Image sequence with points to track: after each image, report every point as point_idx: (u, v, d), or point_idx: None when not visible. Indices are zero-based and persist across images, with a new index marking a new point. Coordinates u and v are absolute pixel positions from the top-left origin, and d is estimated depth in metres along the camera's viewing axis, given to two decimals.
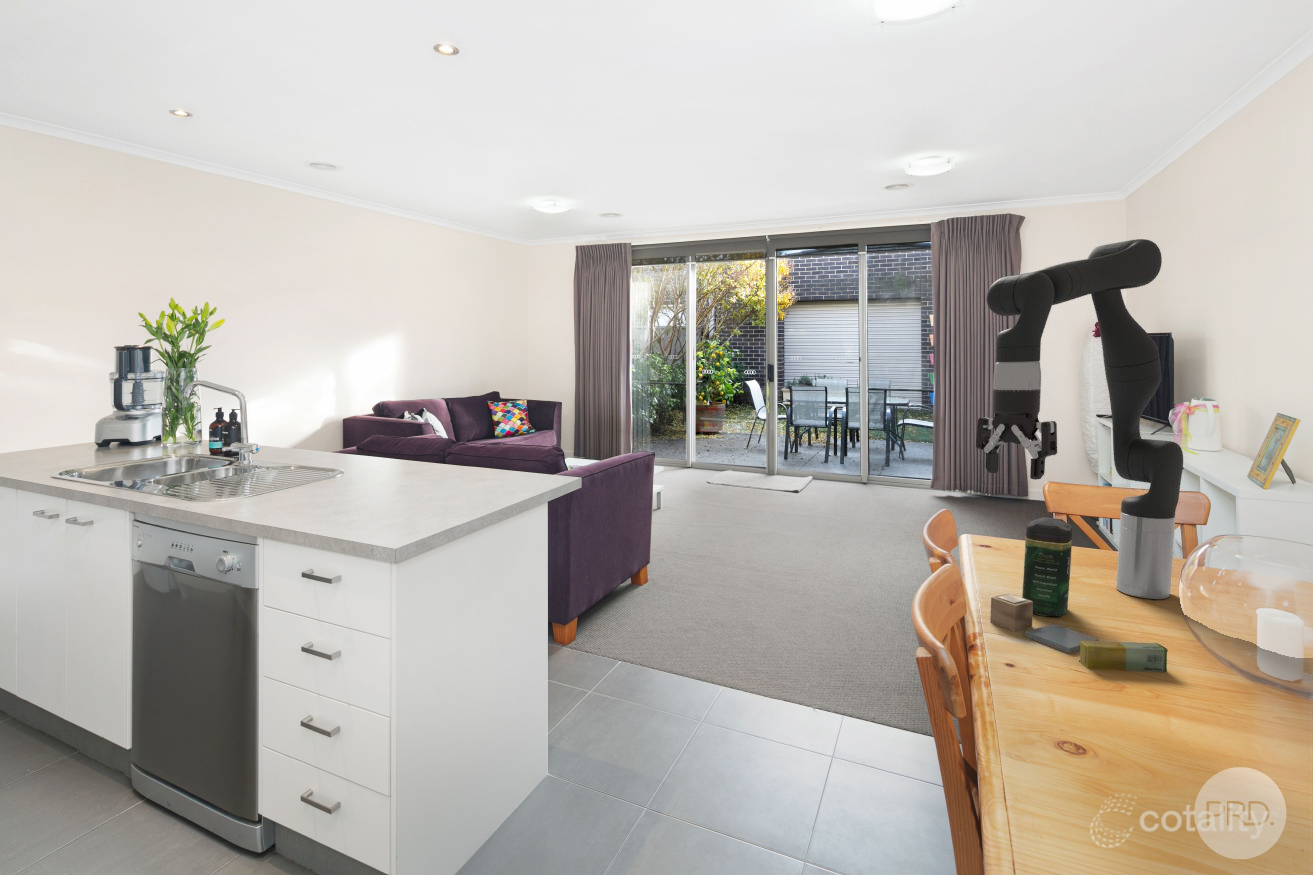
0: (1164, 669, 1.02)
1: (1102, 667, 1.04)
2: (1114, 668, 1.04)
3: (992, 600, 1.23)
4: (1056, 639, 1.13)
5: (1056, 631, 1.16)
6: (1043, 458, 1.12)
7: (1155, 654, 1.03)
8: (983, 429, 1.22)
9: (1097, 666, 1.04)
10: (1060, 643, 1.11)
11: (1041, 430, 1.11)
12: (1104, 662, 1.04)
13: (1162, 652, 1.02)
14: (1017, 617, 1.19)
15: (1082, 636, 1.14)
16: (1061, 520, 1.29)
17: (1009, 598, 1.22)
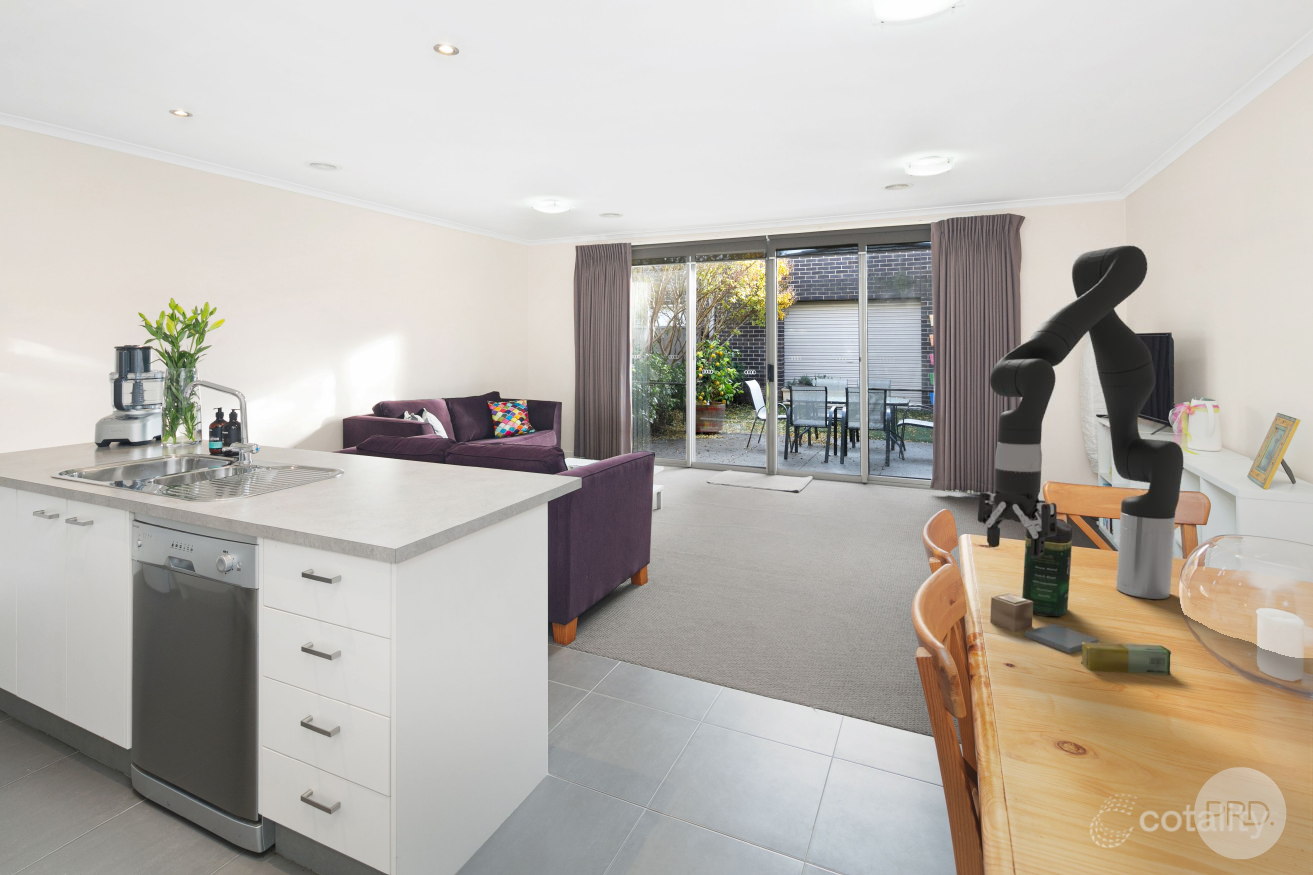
0: (1167, 671, 1.02)
1: (1104, 669, 1.03)
2: (1116, 670, 1.03)
3: (993, 600, 1.23)
4: (1056, 639, 1.13)
5: (1056, 631, 1.16)
6: (1043, 538, 1.16)
7: (1158, 656, 1.02)
8: (985, 504, 1.25)
9: (1099, 668, 1.03)
10: (1060, 643, 1.11)
11: (1041, 512, 1.14)
12: (1106, 663, 1.03)
13: (1165, 654, 1.02)
14: (1017, 617, 1.19)
15: (1082, 636, 1.14)
16: (1061, 520, 1.29)
17: (1009, 598, 1.22)
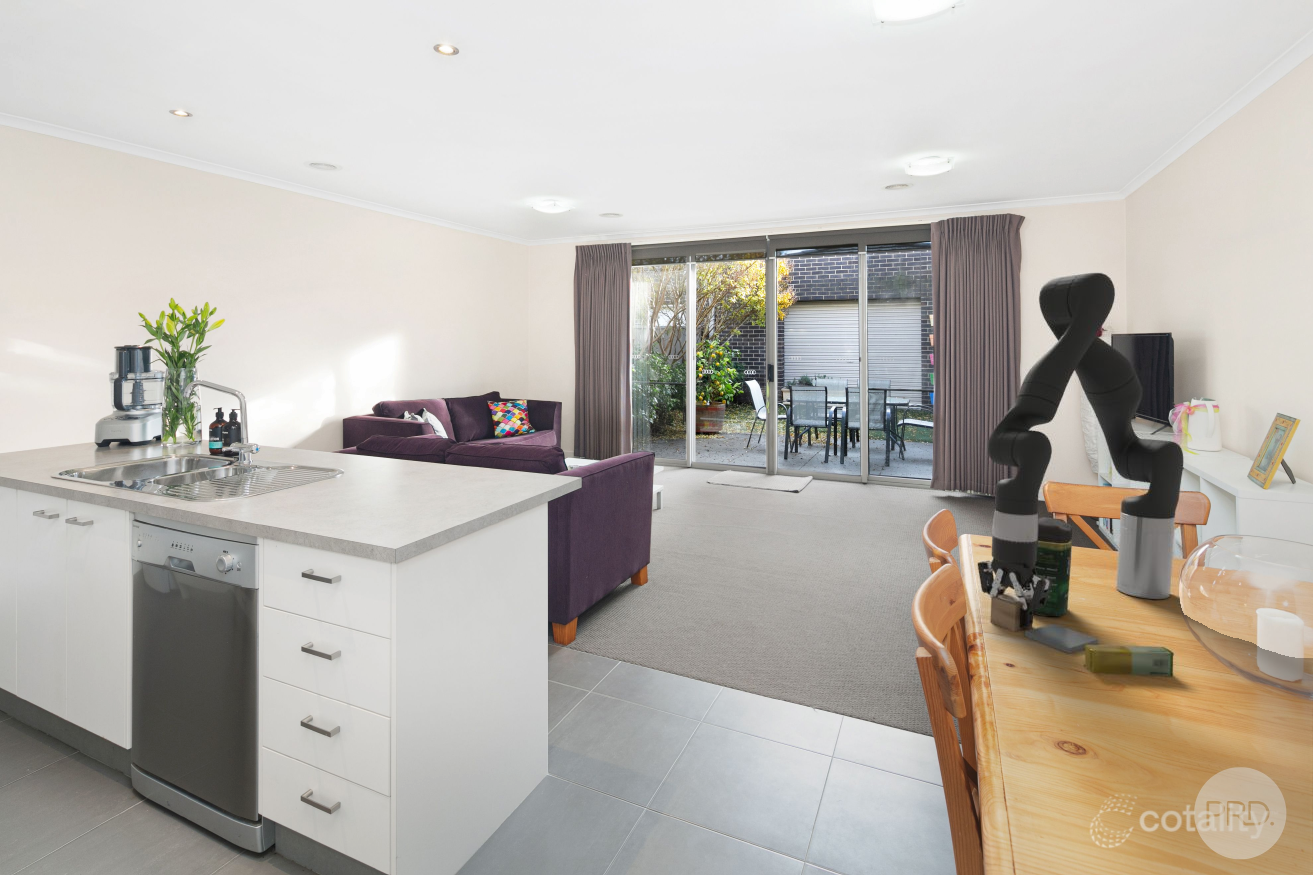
0: (1170, 673, 1.01)
1: (1108, 671, 1.02)
2: (1120, 672, 1.02)
3: (993, 599, 1.23)
4: (1056, 639, 1.13)
5: (1056, 631, 1.16)
6: (1031, 609, 1.18)
7: (1161, 658, 1.01)
8: (985, 573, 1.26)
9: (1103, 671, 1.02)
10: (1060, 643, 1.11)
11: (1036, 586, 1.16)
12: (1109, 666, 1.02)
13: (1168, 656, 1.01)
14: (1017, 617, 1.19)
15: (1082, 636, 1.14)
16: (1061, 520, 1.29)
17: (1010, 597, 1.22)
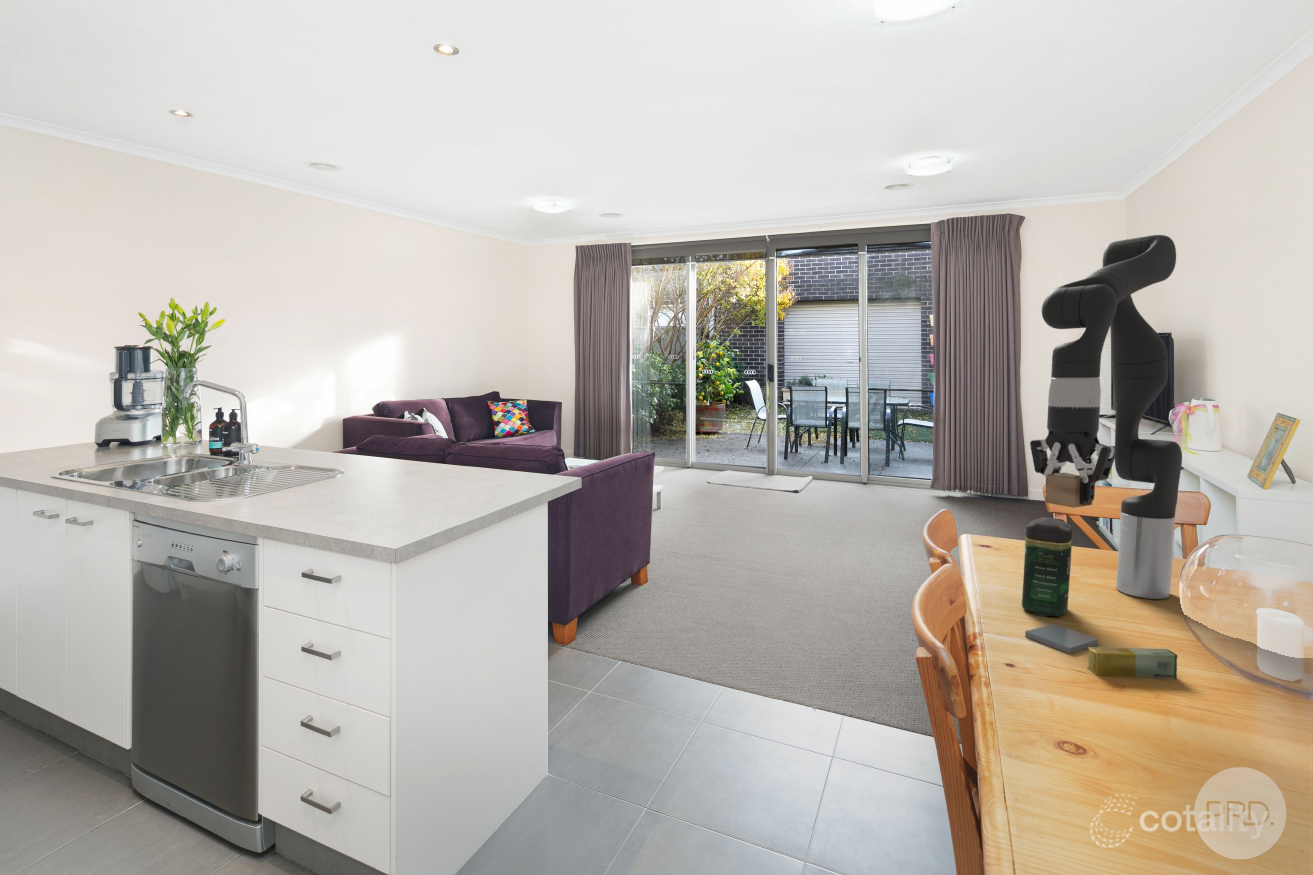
0: (1174, 675, 1.00)
1: (1111, 674, 1.01)
2: (1124, 675, 1.01)
3: (1048, 477, 1.13)
4: (1056, 639, 1.13)
5: (1056, 631, 1.16)
6: (1093, 483, 1.08)
7: (1165, 660, 1.00)
8: (1038, 451, 1.16)
9: (1107, 674, 1.01)
10: (1060, 643, 1.11)
11: (1099, 454, 1.06)
12: (1113, 669, 1.01)
13: (1172, 658, 1.00)
14: (1077, 492, 1.09)
15: (1082, 636, 1.14)
16: (1061, 520, 1.29)
17: (1067, 474, 1.12)
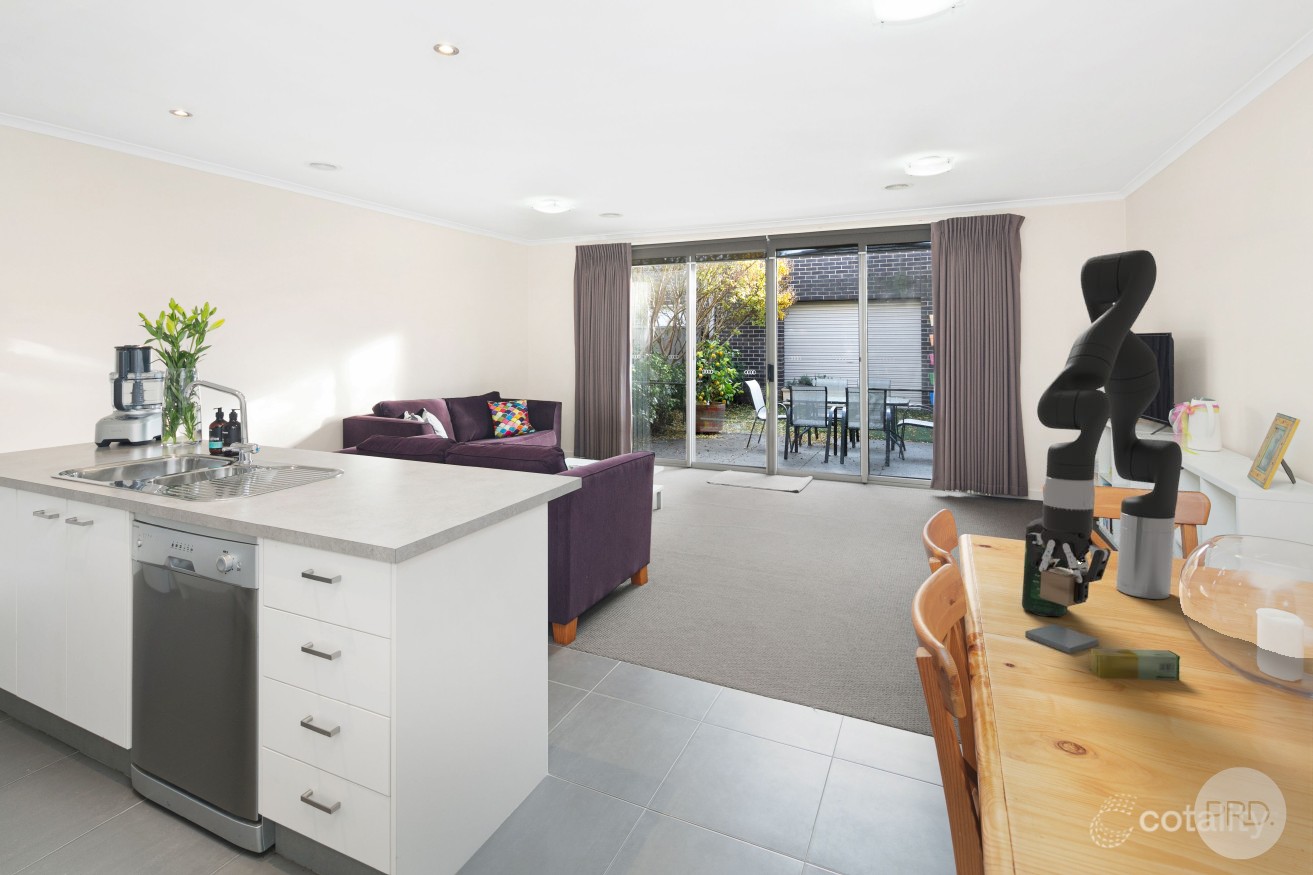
0: (1177, 677, 1.00)
1: (1114, 676, 1.01)
2: (1126, 677, 1.01)
3: (1043, 573, 1.14)
4: (1056, 639, 1.13)
5: (1056, 631, 1.16)
6: (1087, 582, 1.10)
7: (1167, 662, 1.00)
8: (1033, 545, 1.17)
9: (1109, 675, 1.01)
10: (1060, 643, 1.11)
11: (1093, 556, 1.08)
12: (1116, 670, 1.01)
13: (1175, 659, 1.00)
14: (1071, 591, 1.11)
15: (1082, 636, 1.14)
16: None
17: (1061, 571, 1.14)
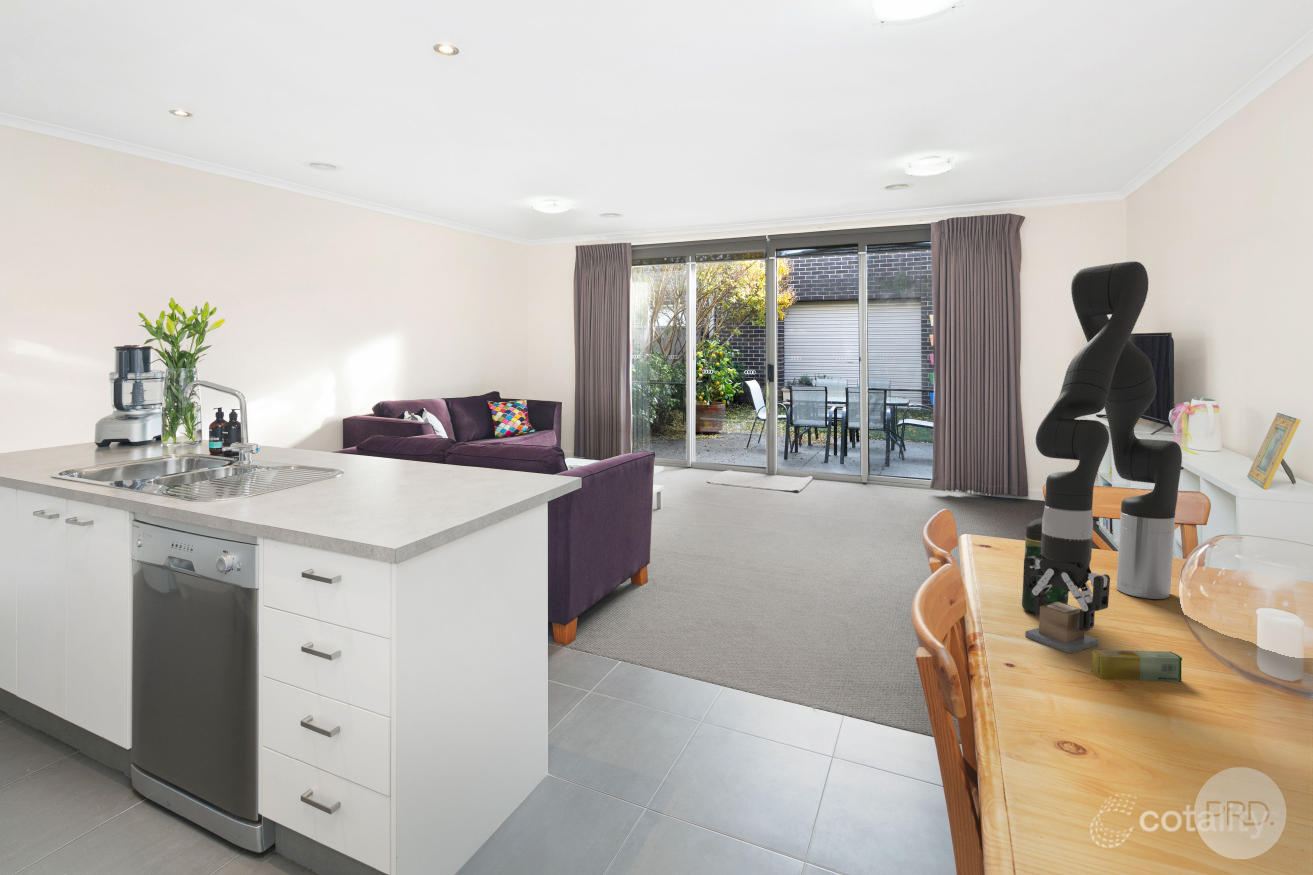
0: (1179, 678, 0.99)
1: (1116, 677, 1.00)
2: (1128, 678, 1.00)
3: (1041, 609, 1.15)
4: (1056, 639, 1.13)
5: None
6: (1093, 611, 1.09)
7: (1169, 663, 0.99)
8: (1030, 569, 1.18)
9: (1111, 677, 1.00)
10: (1060, 643, 1.11)
11: (1093, 584, 1.08)
12: (1117, 672, 1.00)
13: (1177, 661, 0.99)
14: (1069, 628, 1.11)
15: None
16: None
17: (1060, 606, 1.14)
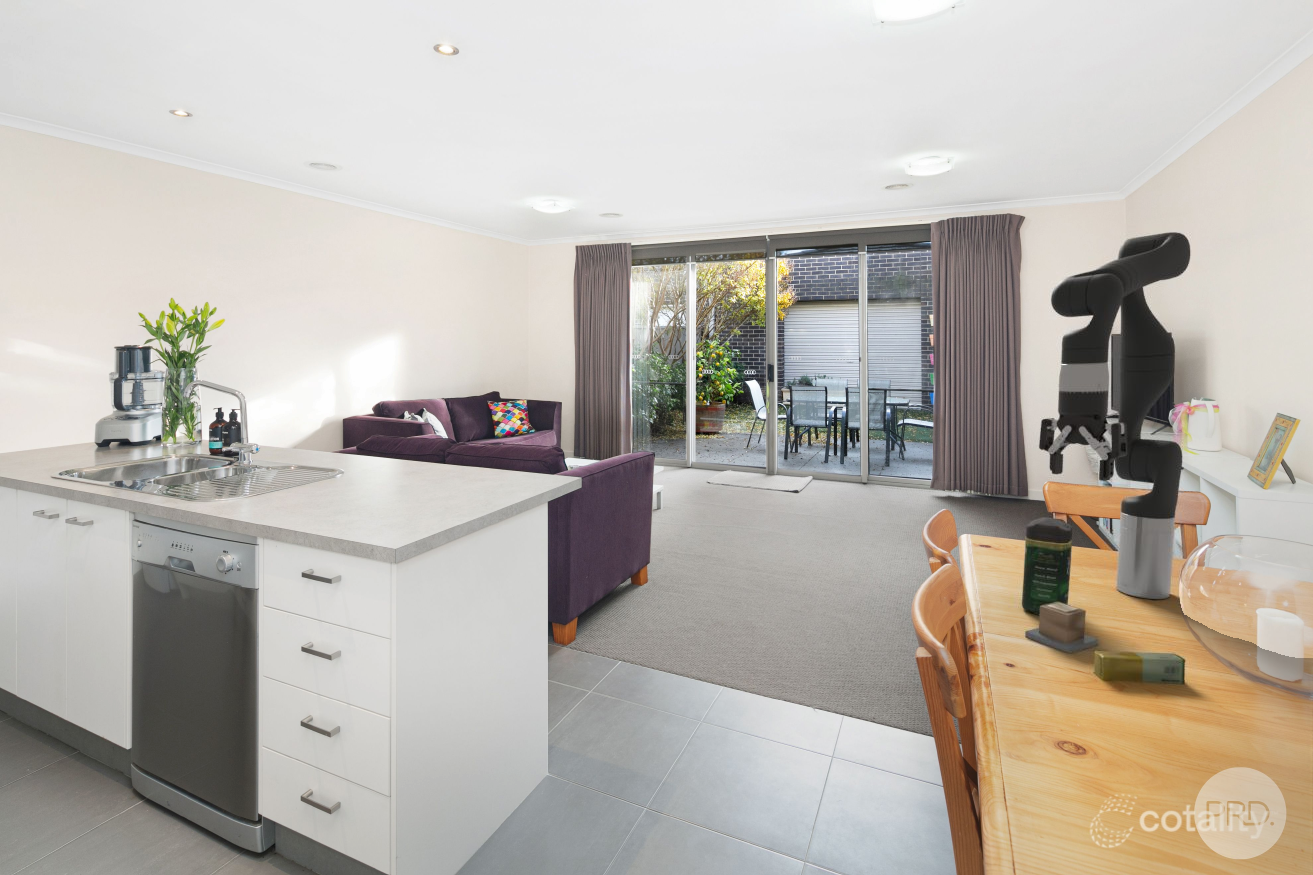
0: (1182, 680, 0.99)
1: (1118, 679, 1.00)
2: (1130, 680, 1.00)
3: (1041, 609, 1.15)
4: (1056, 639, 1.13)
5: None
6: (1112, 459, 1.12)
7: (1173, 665, 0.99)
8: (1047, 430, 1.22)
9: (1113, 678, 1.00)
10: (1060, 643, 1.11)
11: (1111, 432, 1.11)
12: (1119, 673, 1.00)
13: (1180, 663, 0.99)
14: (1069, 628, 1.11)
15: None
16: (1061, 520, 1.29)
17: (1060, 606, 1.14)
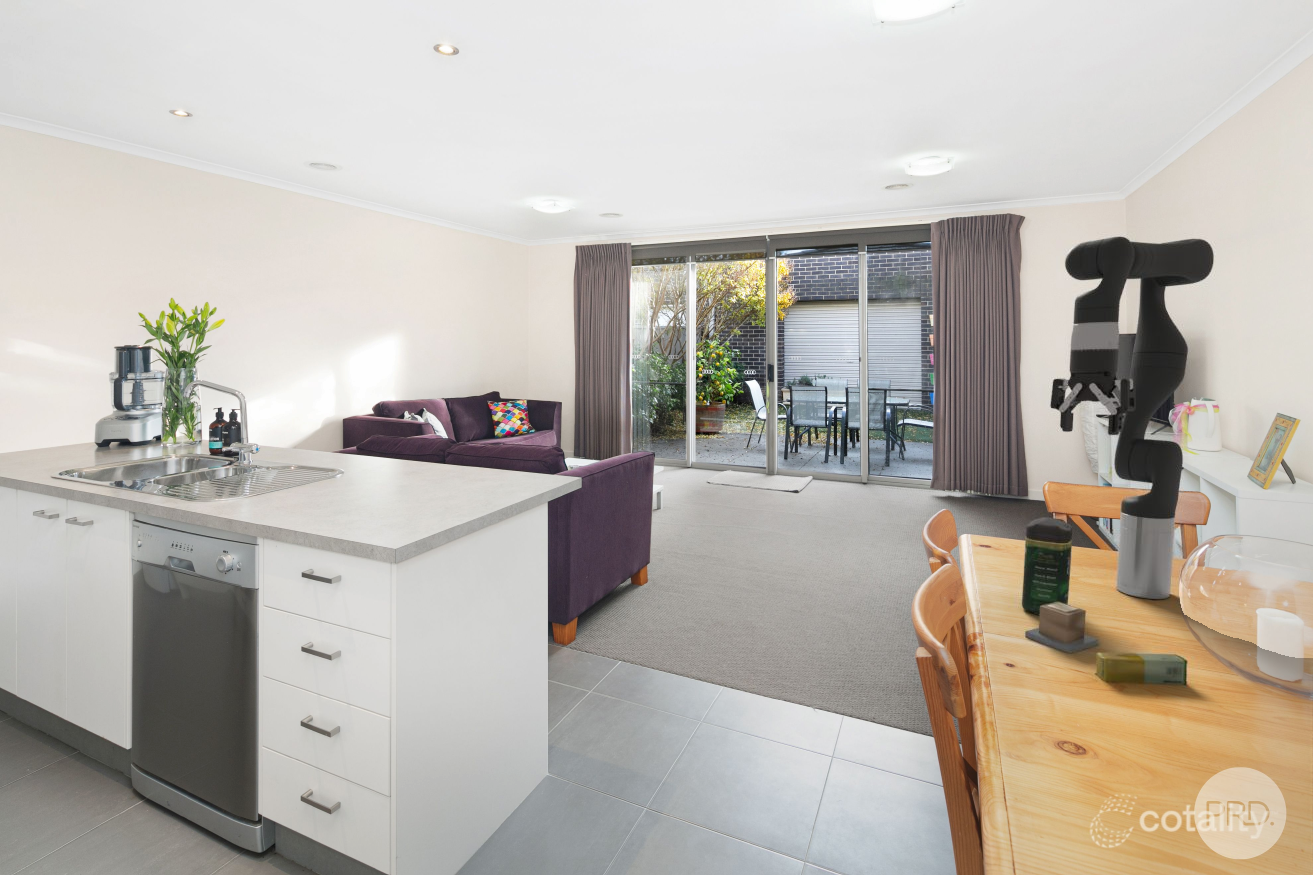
0: (1184, 681, 0.98)
1: (1120, 680, 0.99)
2: (1133, 681, 0.99)
3: (1041, 609, 1.15)
4: (1056, 639, 1.13)
5: None
6: (1121, 414, 1.18)
7: (1175, 666, 0.98)
8: (1058, 389, 1.27)
9: (1115, 680, 0.99)
10: (1060, 643, 1.11)
11: (1120, 387, 1.16)
12: (1122, 675, 0.99)
13: (1182, 664, 0.98)
14: (1069, 628, 1.11)
15: None
16: (1061, 520, 1.29)
17: (1060, 606, 1.14)
